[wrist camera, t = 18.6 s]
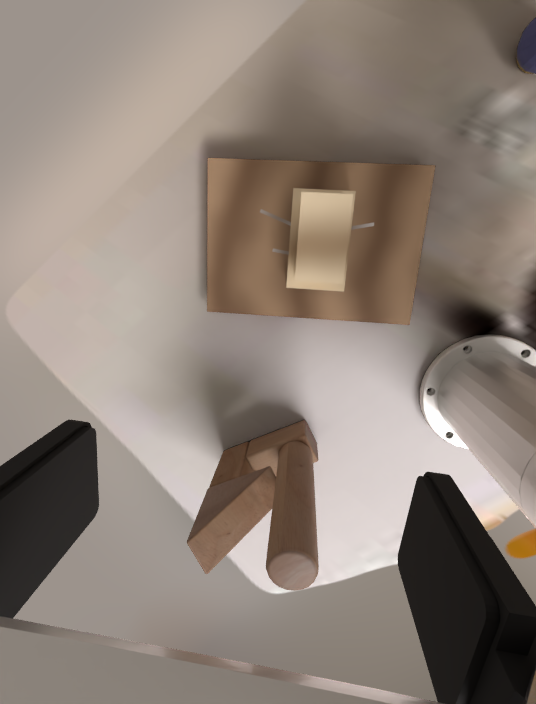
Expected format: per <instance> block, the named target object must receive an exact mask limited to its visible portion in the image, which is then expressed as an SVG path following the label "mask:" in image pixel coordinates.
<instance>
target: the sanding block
mask: <svg viewBox="0 0 536 704" xmlns="http://www.w3.org/2000/svg"><path fill="white" fill-rule="evenodd" d="M355 194H356V191H344V190H322V189H301V188H293V201H292V215H291V229H290V243H289V257H288V271H287V285H286V288H297V289H312V290H327V291H342V292H344V288H345V280H346V271H347V262H348V254H349V245H350V237H351V228H352V219H353V211H354V202H355Z"/></svg>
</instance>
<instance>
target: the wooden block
mask: <svg viewBox="0 0 536 704" xmlns="http://www.w3.org/2000/svg"><path fill="white" fill-rule="evenodd" d="M317 461H318V451H317V443H316V441H315V439H314V436H313V434H312V432H311V430H310V428H309V426H308V424H307V422H306V421H305V420H303V421H300V422H298V423H295V424H292V425H290V426H287V427H284V428H282V429H279V430H277V431H274V432H271V433H269V434H266V435H264V436H261V437H258V438H256V439H253V440H251V441H250V443H249V442H245V443H242V444H240V445H237V446H235V447H232V448H229V449H227V450H225V451H224V452H223V454H222V456H221V459H220V461H219V464H218V466H217V469H216V471H215V474H214V476H213V479H212V481H211V484H210V488H208V490H207V492H206V495H205V497H204V500H203V502H202V505H201V507H200V510H199V512H198V515H197V517H196V520H195V522H194V525H193V528H192V530H191V532H190V535H189V537H188V540H187V544H188V546H189V547H190V549H191V551H192V552H193V554H194V555H195V557H196V559H197V560H198V562H199V564H200V565H201V567H202V569H203V570H204V572H205V573H206V574H208V573H209V572H210V571H211V570H212V569H213V568H214V567H215V566H216V565H217V564H218V563H219V562H220V561H221V560H222V559H223V558H224V557H225V556H226V555H227V554H228V553H229V552H230V551H231V550H232V549H233V548H234V547H235V546H236V545H237V543H238V542H239V541H240V540H241V539H242V538H243V537H244V536H245V535H246V534H247V533H248V532H249V531H250V530H251V529H252V528H253V527H254V526H255V525H256V524H257V523H258V522H259V521H260V520H261V519H262V518H263V517H264V516H265V515H266V514H267V513H268V512H269V511H270V510H271V509H272V517H271V525H270V534H269V542H268V551H267V560H266V570H267V572H268V575H269V578H270V579H271V580H272V581H273V583H275V584H276V585H278V586H279V587H281V588H284V589H287V590H301V589H304V588H306V587H309V586H310V585H311V584H312V583H313V582H314V580H315V578H316V577H317V574H318V548H317V529H316V509H315V490H314V471H313V463H314V462H317Z"/></svg>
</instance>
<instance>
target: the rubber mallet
mask: <svg viewBox="0 0 536 704" xmlns="http://www.w3.org/2000/svg"><path fill="white" fill-rule="evenodd" d="M516 60H517V63H518V67H519V68H520V69H521V70H522V71H523V72H524V73H530V74H534V73H535V74H536V18H535V19H534V20H532V21H531V22H530V23H529V25H528V26H527V27H526V29H525V30H524V31H523V33H522V36H521V39H520V41H519V44H518V47H517V56H516Z"/></svg>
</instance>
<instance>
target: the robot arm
mask: <svg viewBox="0 0 536 704" xmlns="http://www.w3.org/2000/svg"><path fill="white" fill-rule="evenodd" d="M465 346H466V348H465V349H463V348H464V347H465ZM521 352H522V353H521ZM429 388H430V390H428V391H427V389H429ZM420 405H421V411H422V413H423V415H424V418H425V420H426V421H427V423H428V424H429V426H430V427H431V428H432V429H433V431H434V432H435V433H436V434H437V435H438V436H439V437H441V438H442V439H443V440H445V441H446V442H448V443H450V444H453V445H455V446H457V447H461V448H465V449H469V450H470V451H471V452H472V453H473V455H474V456H475V457H476V458H477V459H478V461H479V462H480V463H481V464H482V465H483V466H484V468H485V469H486V470H487V471H488V472H489V474H490V475H491V476H492V477H493V478H494V479H495V481H496V482H497V483H498V484H499V485H500V486H501V488H502V489H503V490H504V491H505V492H506V494H507V495H508V496H509V497H510V498H511V499H512V501H513V502H514V503H515V504H516V505H517V506H518V508H519V509H520V510H521V511H522V512H523V513H524V514H525V516H526V517H527V518H528V519H529V520H530V522H531V523H532V524H533V525H534V527H535V528H536V351H535V350H534V349H533V348H532V347H530V346H528V345H527V344H525V343H524V342H521V341H519V340H516V339H514V338H511V337H507V336H503V335H492V334H487V335H478V336H474V337H470V338H466V339H463V340H461V341H459V342H457V343H455V344H453V345H451V346H450V347H448V348H447V349H446V350H444V351H443V352H442V353H441V354H440V355H439V356H438V357H437V358H436V359H434V361H433V362H432V363H431V365H430V366H429V368H428V369H427V371H426V373H425V375H424V377H423V380H422V383H421V388H420ZM98 507H99V494H98V471H97V444H96V431H95V429H94V428H92V427H91V425H90V423H88V422H83V421H76V420H67V421H65V422H64V423H62V424H61V425H59V426H58V427H56V428H55V429H53V430H52V431H51V432H49V433H48V434H46V435H45V436H43V437H42V438H40V439H39V440H37V441H36V442H35V443H33V444H32V445H30V446H29V447H27V448H26V449H25V450H23V451H22V452H20V453H19V454H17V455H16V456H14V457H13V458H11V459H10V460H9V461H7V462H6V463H4V464H3V465H1V466H0V704H536V606H535V604H534V603H533V601H532V600H531V598H530V597H529V595H528V594H527V592H526V591H525V589H524V588H523V586H522V585H521V583H520V581H519V580H518V579H517V577H516V575H515V574H514V572H513V571H512V569H511V568H510V566H509V564H508V563H507V561H506V560H505V558H504V557H503V555H502V554H501V552H500V551H499V549H498V548H497V546H496V545H495V543H494V542H493V540H492V539H491V537H490V536H489V535H488V533H487V531H486V530H485V528H484V527H483V525H482V524H481V522H480V521H479V519H478V518H477V516H476V515H475V513H474V511H473V510H472V508H471V507H470V505H469V504H468V502H467V501H466V499H465V498H464V496H463V494H462V493H461V491H460V490H459V488H458V487H457V485H456V484H455V482H454V481H453V479H452V478H451V476H450V475H446V474H440V473H433V472H426V473H425V474H424V477H423V476H419V477H418V478H417V481H416V485H415V489H414V493H413V497H412V501H411V505H410V509H409V513H408V517H407V521H406V525H405V529H404V533H403V537H402V541H401V545H400V549H399V553H398V566H399V571H400V574H401V578H402V581H403V584H404V588H405V591H406V595H407V598H408V602H409V605H410V609H411V612H412V615H413V619H414V622H415V625H416V629H417V632H418V636H419V639H420V643H421V646H422V650H423V653H424V656H425V660H426V663H427V667H428V670H429V673H430V677H431V680H432V684H433V687H434V691H435V694H436V697H437V701H438V702H434V701H430V700H425V699H420V698H415V697H412V696H407V695H402V694H398V693H393V692H389V691H384V690H380V689H375V688H370V687H364V686H360V685H354V684H349V683H345V682H340V681H335V680H330V679H325V678H319V677H315V676H310V675H305V674H300V673H294V672H289V671H284V670H279V669H274V668H270V667H265V666H260V665H255V664H249V663H244V662H239V661H234V660H229V659H224V658H218V657H213V656H208V655H203V654H197V653H193V652H187V651H182V650H177V649H172V648H167V647H161V646H156V645H151V644H146V643H141V642H135V641H129V640H125V639H120V638H114V637H109V636H104V635H99V634H93V633H88V632H82V631H77V630H72V629H66V628H61V627H55V626H50V625H45V624H39V623H33V622H28V621H23V620H18V619H13V617H14V616H15V615H16V614H17V613H18V611H19V610H20V609H21V608H22V606H23V605H24V604H25V603H26V601H27V600H28V599H29V598H30V596H31V595H32V594H33V593H34V591H35V590H36V589H37V588H38V587H39V585H40V584H41V583H42V582H43V580H44V579H45V578H46V577H47V575H48V574H49V573H50V572H51V570H52V569H53V568H54V567H55V566H56V564H57V563H58V562H59V561H60V559H61V558H62V557H63V556H64V554H65V553H66V552H67V551H68V549H69V548H70V547H71V546H72V544H73V543H74V542H75V541H76V540H77V538H78V537H79V536H80V534H81V533H82V532H83V531H84V530H85V528H86V527H87V526H88V525H89V523H90V522H91V521H92V520H93V519H94V517H95V515H96V513H97V511H98Z"/></svg>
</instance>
